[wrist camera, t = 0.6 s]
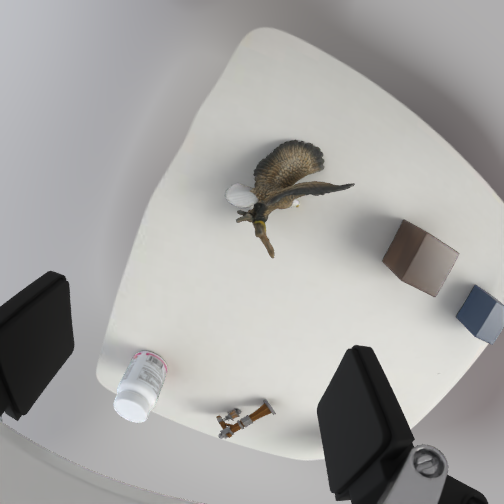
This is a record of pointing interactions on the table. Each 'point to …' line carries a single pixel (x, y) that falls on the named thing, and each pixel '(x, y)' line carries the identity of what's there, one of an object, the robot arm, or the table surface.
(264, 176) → the eagle figurine
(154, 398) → the pill bottle
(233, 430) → the wooden post with brackets
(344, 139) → the table surface
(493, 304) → the slate-blue block
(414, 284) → the walnut block
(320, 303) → the table surface
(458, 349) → the table surface
